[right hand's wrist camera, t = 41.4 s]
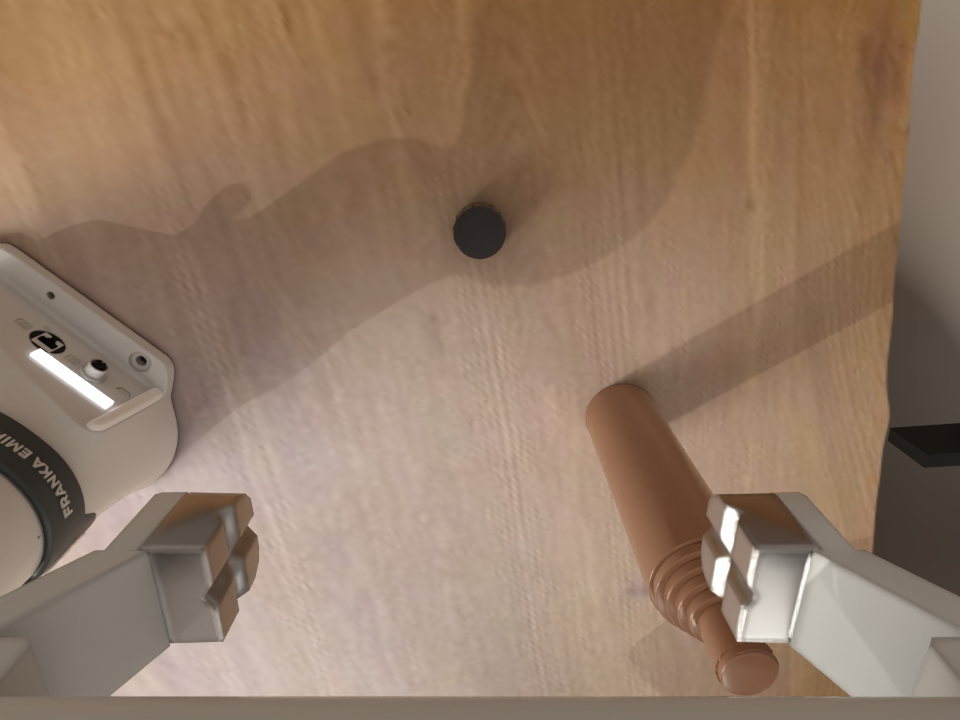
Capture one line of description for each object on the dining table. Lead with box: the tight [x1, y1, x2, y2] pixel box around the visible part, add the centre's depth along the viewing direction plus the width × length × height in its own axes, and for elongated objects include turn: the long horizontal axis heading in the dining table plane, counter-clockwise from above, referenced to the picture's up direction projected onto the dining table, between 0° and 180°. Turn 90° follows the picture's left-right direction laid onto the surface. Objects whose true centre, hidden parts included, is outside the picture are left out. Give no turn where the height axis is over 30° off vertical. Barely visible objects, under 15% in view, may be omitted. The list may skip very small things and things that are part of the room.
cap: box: [453, 202, 506, 259], centre depth 43 cm, size 4×4×2 cm
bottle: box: [586, 384, 779, 695], centre depth 38 cm, size 6×6×26 cm
